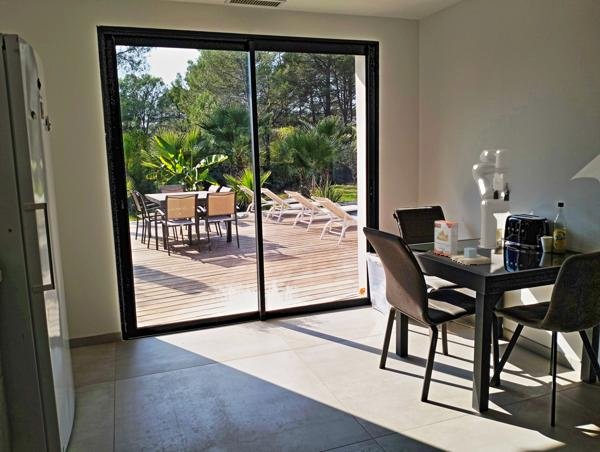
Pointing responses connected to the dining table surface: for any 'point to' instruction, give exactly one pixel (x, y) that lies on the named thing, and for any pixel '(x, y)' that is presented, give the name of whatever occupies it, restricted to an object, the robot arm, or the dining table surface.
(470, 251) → the slate block
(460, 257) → the birch base
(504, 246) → the dining table surface
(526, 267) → the dining table surface
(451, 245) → the cracker box
